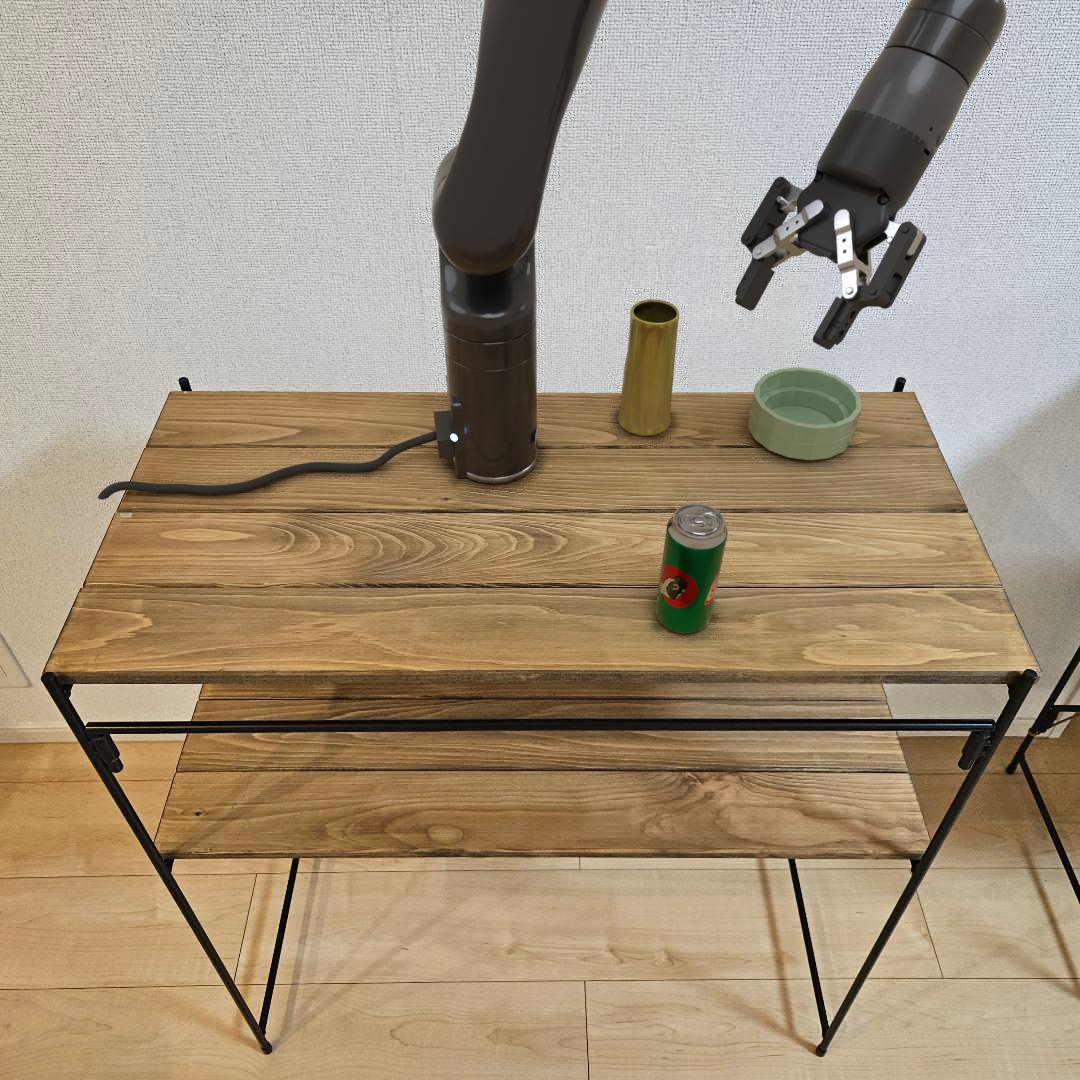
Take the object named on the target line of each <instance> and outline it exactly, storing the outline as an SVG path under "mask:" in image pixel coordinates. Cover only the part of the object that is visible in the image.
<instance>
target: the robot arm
mask: <svg viewBox="0 0 1080 1080" xmlns="http://www.w3.org/2000/svg"><path fill="white" fill-rule="evenodd" d="M608 3H609V0H484V1H483V8H482V15H481V24H480V32H479V41H478V42H479V43H478V51H477V52H478V53H477V61H476V70H475V71H476V73H475V78H474V85H473V86H474V87H473V91H472V96H471V100H470V105H469V109H468V112H467V116H466V118H465V119H466V120H465V122H464V125H463V128H462V132H461V134H460V137H459V140H458V144H457V145H455V146H454V147H452V148H451V149H450V150H449V151H448V152H447V153H446V154H445V155H444V156H443V159H442V160H441V161H440V163H439V165H438V167H437V170H436V173H435V176H434V181H433V188H432V189H433V190H432V192H433V193H432V201H431V224H432V228H433V233H434V236H435V239H436V241H437V247H438V259H439V260H438V262H439V263H438V264H439V293H440V297H439V298H440V310H441V321H442V331H443V332H442V333H443V342H444V344H443V345H444V357H445V367H446V375H445V382H446V383H445V384H446V393H447V394H446V396H447V407H448V409H447V410H437V411H433V421H434V430H433V431H431V432H427V433H425V434H422V435H418V436H415V437H413V438H410V439H407V440H404V441H402V442H400V443H397V444H396V445H393V446H392V447H390V448H389V449H387V450H386V451H385V452H384V453H383V454H382V455H381V456H379V457H377V458H375V459H374V460H371V461H366V462H361V463H342V462H329V461H313V462H305V463H299V464H295V465H290V466H287V467H284V468H283V467H282V468H281V469H277V470H274V471H272V472H270V473H267V474H265V475H261V476H259V477H255V478H252V479H249V480H246V481H245V480H244V481H240V482H236V483H229V484H211V485H210V484H191V483H190V484H189V483H157V482H156V483H154V482H144V481H136V480H135V481H133V480H132V481H131V480H124V481H117V482H113V483H112V484H109V485H107V486H106V487H105V488H104V489H102V490H101V491H100V493H99V494H98V496H97V499H98V500H107V499H108V498H111V496H112V495H114V494H115V493H118V492H123V491H136V492H146V493H157V494H158V493H159V494H160V493H161V494H162V493H165V494H166V493H167V494H169V493H171V494H172V493H177V494H196V495H225V494H226V495H227V494H235V493H241V492H245V491H249V490H253V489H256V488H257V489H258V488H260V487H262V486H265V485H268V484H270V483H273V482H276V481H279V480H281V479H284V478H288V477H290V476H294V475H298V474H303V473H309V472H336V473H337V472H338V473H364V472H365V473H366V472H371V471H373V470H377V469H379V468H381V467H383V466H384V465H386V464H387V463H388V462H389V461H391V460H392V459H393V458H394V457H395V456H397V455H399V454H401V453H403V452H407V451H409V450H410V449H414V448H417V447H419V446H421V445H426V444H429V443H431V442H434V441H436V445H437V452H438V459H439V460H442V459H450V458H452V461H453V462H452V463H453V465H454V470H455V476H456V478H457V479H468V480H469V479H470V480H472V481H474V482H478V483H484V484H491V485H492V484H493V485H494V484H495V485H496V484H505V483H509V482H515V481H516V480H519V479H521V478H523V477H524V476H526V475H528V474H529V473H530V472H532V470H534V468H535V466H536V465H537V462H538V460H539V459H538V458H539V451H538V435H539V431H540V420H538V390H537V389H538V385H537V384H538V381H537V380H538V378H537V377H538V373H537V372H538V365H537V363H538V361H537V360H538V358H537V357H538V355H537V353H538V352H537V351H538V350H537V349H538V348H537V347H538V346H537V345H538V344H537V343H538V342H537V341H538V340H537V339H538V336H537V335H538V334H537V333H538V332H537V329H538V327H537V326H538V325H537V323H538V322H537V321H538V318H537V315H538V313H537V312H538V309H537V308H538V307H537V306H538V299H537V298H538V296H537V295H538V294H537V292H538V291H537V270H536V266H537V265H536V234H537V231H538V225H539V219H540V214H541V209H542V205H543V200H544V194H545V189H546V185H547V181H548V177H549V173H550V167H551V163H552V161H553V160H552V159H553V155H554V151H555V147H556V143H557V141H558V137H559V136H558V135H559V132H560V129H561V126H562V123H563V119H564V117H565V114H566V112H567V109H568V107H569V104H570V101H571V99H572V96H573V95H574V93H575V89H576V87H577V85H578V83H579V80H580V77H581V75H582V72H583V70H584V67H585V65H586V61H587V59H588V56H589V54H590V51H591V49H592V46H593V43H594V40H595V38H596V35H597V33H598V29H599V27H600V25H601V22H602V18H603V16H604V13H605V12H606V8H607V6H608ZM1006 18H1007V5H1006V3H1005V0H910V1H909V2H908V4H907V6H906V7H905V9H904V10H903V12H902V14H901V16H900V17H899V20H898V21H897V23H896V25H895V27H894V28H893V31H892V33H891V34H890V36H889V38H888V39H887V41H886V43H885V45H884V46H883V49H882V50H881V52H880V54H879V56H878V57H877V59H876V60H875V62H874V63H873V64H872V66H871V67H870V69H869V70H868V72H867V73H866V74H865V76H864V77H863V79H862V81H861V83H860V84H859V86H858V88H857V90H856V91H855V93H854V95H853V97H852V99H851V100H850V102H849V104H848V106H847V108H846V109H845V111H844V113H843V115H842V117H841V119H840V120H839V123H838V124H837V125H836V128H835V130H834V132H833V134H832V135H831V137H830V139H829V141H828V142H827V144H826V146H825V148H824V150H823V152H822V154H821V155H820V157H819V158H818V161H817V163H816V164H817V165H816V170H815V175H814V177H813V179H812V181H811V182H810V183H809V184H808V185H807V186H806V187H805V188H804V189H803V188H800V187H798V186H796V185H794V184H793V183H791V181H790V180H788V179H786V177H784V176H778V177H776V178H775V179H774V180H773V182H772V184H771V185H770V187H769V189H768V191H766V192H767V193H766V194H765V196H764V197H763V199H762V200H761V202H760V204H759V206H758V207H757V209H756V210H755V213H754V214H753V216H752V217H751V219H750V221H749V222H748V224H747V226H746V228H745V229H744V231H743V233H742V235H741V237H740V243H741V244H742V245H743V246H745V247H746V249H747V250H748V252H750V254H751V260H750V263H749V264H748V266H747V268H746V271H744V274H743V275H742V277H741V279H740V281H739V283H738V285H737V287H736V290H735V299H734V303H735V304H736V305H737V306H740V307H742V308H744V309H745V310H748V311H749V312H752V311H754V310H755V309H756V308H757V306H758V304H759V302H760V300H761V299H762V297H763V295H764V293H765V292H766V290H767V287H768V286H769V285H770V282H771V280H772V278H773V277H774V275H775V273H776V271H775V270H773V269H775V268H777V267H778V266H779V265H781V264H783V263H785V262H786V261H788V260H789V259H790V258H793V257H799V256H801V255H803V254H804V253H806V252H809V253H810V254H811V255H814V256H817V257H821V258H827V259H828V260H829V261H831V262H832V263H834V264H836V265H837V268H838V270H839V272H840V280H841V281H840V283H841V284H840V285H841V297H838V296H835V298H834V300H833V301H832V303H831V304H830V307H829V308H828V310H827V311H826V313H825V315H824V317H823V318H822V320H821V321H820V324H819V325H818V328H817V329H816V331H815V332H814V334H813V335H812V343H815V344H816V345H818V346H819V347H822V348H823V349H826V350H832V349H833V347H834V346H839V344H841V343H842V342H843V340H844V339H845V337H846V336H847V334H848V332H849V331H850V329H851V327H852V326H853V324H854V322H855V320H856V319H857V317H858V315H859V314H860V312H861V311H863V309H865V308H868V307H869V308H871V307H876V308H877V307H879V308H881V309H884V310H886V309H889V308H891V307H892V306H893V305H894V302H895V301H896V299H897V297H898V295H899V293H900V292H901V290H902V288H903V286H904V284H905V282H906V280H907V278H908V276H909V275H910V273H911V271H912V269H913V268H914V265H915V263H916V261H917V260H918V258H919V256H920V254H921V252H922V250H923V248H924V246H925V245H926V243H927V236H926V234H925V233H924V232H923V231H922V230H921V229H920V227H918V226H917V225H915V224H914V223H913V222H912V221H909V220H908V221H904V222H902V223H901V222H898V221H897V222H896V217H897V214H898V212H899V211H900V210H901V209H902V208H904V207H905V206H906V204H907V203H908V201H909V200H910V198H911V196H912V194H913V192H914V191H915V190H916V187H917V186H918V185H919V182H920V181H921V179H922V177H923V176H924V174H925V173H926V170H927V169H928V167H929V165H930V164H931V162H932V160H933V158H934V157H935V155H936V154H937V151H938V150H939V149H940V147H941V145H942V144H943V143H944V141H945V139H946V136H947V134H949V131H950V129H951V127H952V125H953V123H954V122H955V120H956V118H957V116H958V113H959V112H960V108H961V106H962V104H963V102H964V99H965V98H966V95H967V94H968V92H969V90H970V89H971V86H972V85H973V83H974V81H975V80H976V78H977V76H978V74H979V73H980V71H981V70H982V67H983V66H984V65H985V63H986V62H987V59H988V57H989V55H990V54H991V52H992V50H993V49H994V47H995V45H996V43H997V41H998V39H999V38H1000V35H1001V33H1002V32H1003V29H1004V26H1005V24H1006V20H1007V19H1006ZM795 212H796V215H794V216H793V217H791V218H790V219H788V220H787V218H788V215H789V214H790V213H795ZM796 235H797V236H796ZM885 241H886V242H885ZM883 242H885V248H886V251H885V253H884V254H883V257H882V258H881V260H880V261H879V263H878V266H877V268H876V270H875V272H874V274H873V269H872V249H873V248H875V247H877V246H879V245H880V244H882V243H883Z"/></svg>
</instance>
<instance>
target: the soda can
mask: <svg viewBox="0 0 1080 1080" xmlns="http://www.w3.org/2000/svg"><path fill="white" fill-rule="evenodd" d="M728 534H729V533H728V528H727V525H726V522H725V517H724V515H723V514H722V513H721V512H720V511H719V510H718V509H717V508H715V507H713V506H711V505H708V504H704V503H698V502H697V503H695V502H694V503H687V504H684V505H681V506H680V507H678V508H676V509H675V511H674V512H673V514H672V516H671V517H670V518H669V519H668V522H667V524H666V530H665V537H664V544H663V551H662V552H663V553H662V559H661V566H660V573H659V579H658V587H657V593H656V602H655V616H656V617H657V620H658V621H659V622H660V623H661V625H663V626H664V627H665V628H667V629H668V630H671V631H672V632H674V633H678V634H693V633H696V632H699V631H701V630H703V629H704V628H706V627H707V626H708V624H709V623H710V621H711V617H712V613H713V609H714V608H713V607H714V602H715V598H716V594H717V589H718V584H719V579H720V574H721V568H722V564H723V559H724V553H725V550H726V545H727V539H728Z"/></svg>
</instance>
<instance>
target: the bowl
mask: <svg viewBox="0 0 1080 1080" xmlns="http://www.w3.org/2000/svg"><path fill="white" fill-rule="evenodd" d="M861 412H862V397H861V395H860V394H859V393H858V392H857V390H856V389H855V388H854V386H853V385H852V384H850V383H849V382H847V381H846V380H844V379H842V378H840V376H837V375H835V374H832V373H829V372H826V371H823V370H821V369H814V368H807V367H799V366H798V367H797V366H795V367H788V368H787V367H786V368H779V369H775V370H773V371H771V372H768V373H766V374H763V375H762V376H761V378H760V379H758V380H757V382H755V384H754V388H753V393H752V398H751V403H750V407H749V413H748V421H747V429H748V430H749V432H750V434H751V435H752V438H753V440H755V441H756V442H758V443H759V444H760V445H762V446H763V447H764V448H765V449H767V450H768V451H770V452H773V453H776V454H777V455H781V456H783V457H786V458H790V459H796V460H804V461H817V460H825V459H826V460H827V459H830V458H832V457H835V456H837V455H839V454H841V453H843V452H844V451H846V450H847V448H848V447H849V446H850V445H851V443H852V442H853V440H854V436H855V433H856V429H857V426H858V422H859V419H860V416H861V414H862V413H861Z"/></svg>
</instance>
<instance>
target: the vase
mask: <svg viewBox="0 0 1080 1080" xmlns="http://www.w3.org/2000/svg"><path fill="white" fill-rule="evenodd" d="M629 315H630V317H629V330H628V339H627V340H628V342H627V351H626V356H625V361H624V366H623V367H624V368H623V376H622V387H621V396H620V397H621V398H620V399H621V400H620V407H619V408H620V409H619V412H618V416H617V421H618V424H619V426H620V427H621V428H622V429H623V430H625V432H627V433H630V434H632V435H634V436H635V435H636V436H640V437H650V436H651V437H652V436H656V435H660V434H662V433H663V432H665V431H667V429H668V428H669V427H670V424H671V421H672V420H671V414H672V413H671V412H672V398H673V388H674V387H673V385H674V376H675V362H676V351H677V340H678V331H679V321H680V311H679V308H678V307H677V306H676V305H675V304H673V303H671V302H669V301H667V300H663V299H657V298H656V299H655V298H651V299H649V298H648V299H644V300H640V301H638V302H636V303H635V304H633V305H632V306H631V308H630V310H629Z"/></svg>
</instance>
